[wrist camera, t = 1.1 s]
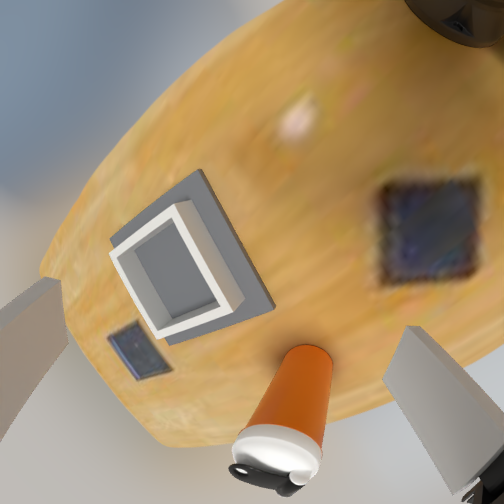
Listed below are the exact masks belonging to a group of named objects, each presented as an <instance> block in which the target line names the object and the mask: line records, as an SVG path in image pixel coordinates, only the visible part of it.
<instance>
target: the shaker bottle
mask: <svg viewBox="0 0 504 504" xmlns="http://www.w3.org/2000/svg"><path fill="white" fill-rule="evenodd" d="M332 370H333V363H332V360H331V358H330V356H329V355H328V354H327V353H326V352H325V351H324V350H322V349H320V348H318V347H316V346H311V345H301V346H297V347H294V348H293V349H291V350H290V351H289V352H288V353H287V354H286V356H285V357H284V359H283V361H282V363H281V365H280V367H279V369H278V371H277V372H276V374H275V376H274V378H273V380H272V382H271V383H270V385H269V387H268V389H267V391H266V392H265V394H264V396H263V398H262V400H261V401H260V403H259V405H258V407H257V408H256V410H255V412H254V413H253V415H252V417H251V419H250V420H249V422H248V424H247V425H246V427H245V428H244V429H242V430H241V432H240V433H239V434H238V437H237V439H236V441H235V442H234V444H233V447H232V454H233V457H234V460H235V463H236V464H232V465H230V466H229V471H230V473H231V474H232V475H233V476H234V477H235V478H237V479H239V480H241V481H244V482H247V483H249V484H252V485H255V486H259V487H263V488H268V489H273V490H275V491H276V493H277V494H278V495H279V496H281V497H290V496H292V495H293V494H294V493H296V492H297V491H298V490H299V489H301V488H302V487H303V486H305V484H307V483H308V482H309V480H310V478H312V477H313V476H315V474H316V473H317V472H318V469H319V466H320V461H321V458H322V450H321V448H322V442H323V436H324V430H325V424H326V417H327V410H328V403H329V396H330V388H331V379H332Z"/></svg>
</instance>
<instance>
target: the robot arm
mask: <svg viewBox="0 0 504 504" xmlns="http://www.w3.org/2000/svg"><path fill="white" fill-rule="evenodd" d="M405 1H406V3H407V4H408V6H409V7H410V8H411V10H412V11H413V12H414V13H415V14H416V15H417V16H418V17H419V18H420V19H421V20H422V21H423V22H424V23H425V24H427V25H428V26H429V27H431V28H432V29H433V30H435V31H436V32H438V33H439V34H441V35H443V36H444V37H446V38H448V39H450V40H452V41H454V42H457V43H460V44H462V45H466V46H470V47H477V48H483V47H488V46H491V45H493V44H495V43H496V42H497V41H498V40H499V39H500V38H501V37H502V36H503V35H504V0H405ZM67 345H68V339H67V332H66V325H65V318H64V310H63V301H62V290H61V280H57V279H53V278H49V277H43V278H42V279H41V280H40V281H38V282H36V283H35V284H34V285H32V286H31V287H30V288H28V289H27V290H25V291H24V292H23V293H22V294H20V295H19V296H17V297H16V298H15V299H13V300H12V301H11V302H10V303H8V304H7V305H6V306H4V307H3V308H2V309H1V310H0V442H1V440H2V438H3V437H4V435H5V433H6V432H7V430H8V429H9V427H10V425H11V424H12V422H13V421H14V419H15V417H16V416H17V414H18V413H19V411H20V410H21V408H22V407H23V405H24V404H25V403H26V401H27V399H28V398H29V397H30V395H31V394H32V392H33V391H34V389H35V388H36V387H37V385H38V384H39V382H40V381H41V380H42V378H43V377H44V375H45V374H46V373H47V371H48V370H49V368H50V367H51V366H52V364H53V363H54V362H55V360H56V359H57V358H58V357H59V355H60V354H61V353H62V351H63V350H64V349H65V347H66V346H67ZM382 380H383V382H384V383H385V385H386V386H387V388H388V390H389V391H390V393H391V394H392V396H393V397H394V399H395V400H396V402H397V404H398V405H399V407H400V408H401V410H402V412H403V413H404V415H405V416H406V418H407V419H408V421H409V423H410V424H411V426H412V428H413V429H414V431H415V432H416V434H417V436H418V437H419V439H420V440H421V442H422V444H423V446H424V447H425V449H426V451H427V452H428V454H429V456H430V457H431V459H432V461H433V462H434V464H435V466H436V467H437V469H438V471H439V472H440V474H441V476H442V478H443V480H444V481H445V483H446V485H447V487H448V488H449V490H450V492H451V494H452V495H454V494H456V493H458V492H460V491H462V490H464V489H466V488H467V487H468V486H469V485H470V484H471V483H472V482H474V480H476V479H477V478H478V477H479V478H480V481H479V482H478V483H477V484H476V485H475V486H474V487H473V488H472V489H471V490H470V491H469V492H467V493H466V494H465V495H464V496H463V498H462V502H464V501H465V500H466V499H468V498H469V497H470V496H471V495H472V494H474V495H473V496H472V497H471V498H470V499H469V500H468V501H467V503H471V504H504V413H503V411H501V409H500V408H499V407H498V406H497V405H496V404H495V402H494V401H493V400H492V399H491V398H490V397H489V396H488V395H487V394H486V393H485V391H484V390H483V389H481V387H480V386H479V385H478V384H477V383H476V382H475V381H474V380H473V379H472V378H471V377H470V376H469V375H468V373H467V372H466V371H465V370H464V369H463V368H462V367H461V366H460V365H459V364H458V363H457V362H456V361H455V360H454V359H453V358H452V357H451V356H450V355H449V354H448V353H447V352H446V351H445V350H444V349H443V348H442V347H441V346H440V345H439V344H438V343H437V342H436V341H435V340H434V339H433V338H432V337H431V336H430V335H429V334H428V333H426V332H425V331H424V330H423V329H422V328H421V327H420V326H406V328H405V330H404V333H403V335H402V338H401V340H400V342H399V345H398V347H397V349H396V351H395V353H394V356H393V358H392V360H391V362H390V364H389V366H388V368H387V370H386V373H385V375H384V377H383V379H382Z"/></svg>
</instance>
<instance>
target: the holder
mask: <svg viewBox="0 0 504 504" xmlns="http://www.w3.org/2000/svg"><path fill="white" fill-rule="evenodd" d="M110 241H111V243H112V245H113V247H114V250H112V251H111V252H110V253H109V255H110V257H111V259H112V261H113V263H114V265H115V267H116V269H117V271H118V273H119V275H120V277H121V279H122V281H123V282H124V284H125V286H126V288H127V290H128V292H129V293H130V295H131V297H132V299H133V301H134V302H135V304H136V306H137V308H138V309H139V311H140V313H141V314H142V316H143V318H144V319H145V321H146V323H147V324H148V326H149V328H150V329H151V331H152V333H153V334H154V336H155V337H156V339H157V340H158V339H161V338H165V340H166V341H167V343H168V344H169V346H170V345H173V344H177V343H180V342H183V341H186V340H189V339H192V338H195V337H198V336H201V335H204V334H207V333H210V332H213V331H216V330H219V329H222V328H225V327H228V326H231V325H234V324H236V323H239V322H242V321H245V320H248V319H250V318H253V317H256V316H259V315H261V314H264V313H267V312H269V311H272V310H274V309H275V307H276V305H275V304H274V302H273V300H272V298H271V296H270V294H269V293H268V291H267V289H266V287H265V285H264V283H263V282H262V280H261V278H260V276H259V274H258V272H257V271H256V269H255V267H254V265H253V263H252V261H251V260H250V258H249V256H248V254H247V252H246V250H245V249H244V247H243V245H242V243H241V241H240V239H239V238H238V236H237V234H236V232H235V230H234V228H233V227H232V225H231V223H230V221H229V219H228V217H227V216H226V214H225V212H224V210H223V208H222V206H221V204H220V203H219V201H218V199H217V197H216V195H215V193H214V191H213V190H212V188H211V186H210V184H209V182H208V180H207V179H206V177H205V175H204V173H203V171H202V169H198V170H196V171H195V172H193V173H192V174H191V175H189V176H188V177H186V178H185V179H184V180H182V181H181V182H180V183H178V184H177V185H176V186H174V187H173V188H172V189H170V190H169V191H168V192H166V193H165V194H164V195H162V196H161V197H160V198H158V199H157V200H156V201H155V202H153V203H152V204H151V205H150V206H148V207H147V208H146V209H144V210H143V211H142V212H141V213H139V214H138V215H137V216H136V217H135V218H133V219H132V220H131V221H130V222H128V223H127V224H126V225H125V226H124V227H123V228H121V229H120V230H119V231H118V232H117V233H115V234H114V235H113V236H112V237H111V238H110Z"/></svg>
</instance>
